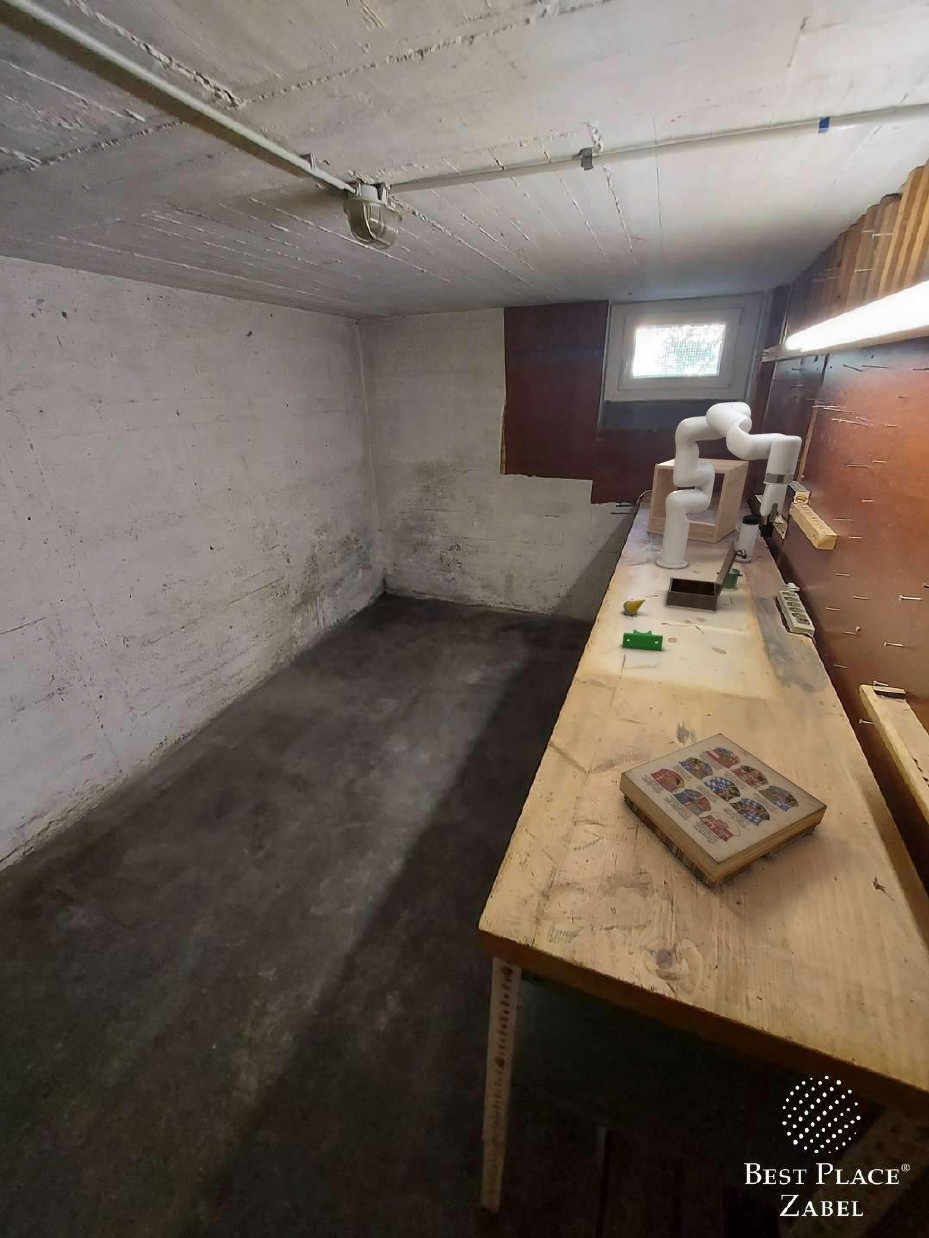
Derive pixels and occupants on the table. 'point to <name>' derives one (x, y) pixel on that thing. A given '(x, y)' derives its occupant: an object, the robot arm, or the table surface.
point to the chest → (692, 594)
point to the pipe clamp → (642, 640)
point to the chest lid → (728, 565)
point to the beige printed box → (719, 807)
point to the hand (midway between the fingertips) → (765, 536)
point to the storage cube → (727, 505)
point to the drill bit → (632, 607)
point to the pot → (732, 578)
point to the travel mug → (747, 536)
